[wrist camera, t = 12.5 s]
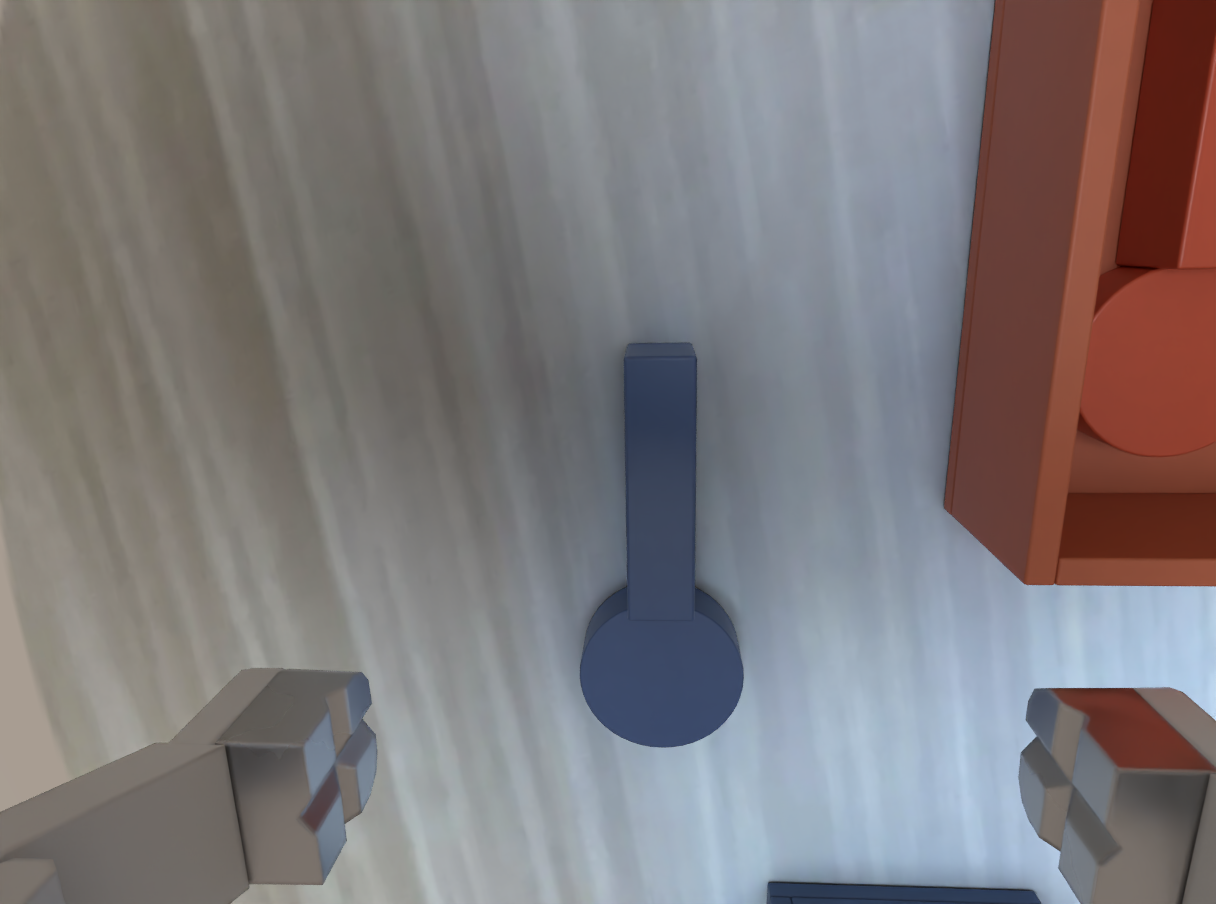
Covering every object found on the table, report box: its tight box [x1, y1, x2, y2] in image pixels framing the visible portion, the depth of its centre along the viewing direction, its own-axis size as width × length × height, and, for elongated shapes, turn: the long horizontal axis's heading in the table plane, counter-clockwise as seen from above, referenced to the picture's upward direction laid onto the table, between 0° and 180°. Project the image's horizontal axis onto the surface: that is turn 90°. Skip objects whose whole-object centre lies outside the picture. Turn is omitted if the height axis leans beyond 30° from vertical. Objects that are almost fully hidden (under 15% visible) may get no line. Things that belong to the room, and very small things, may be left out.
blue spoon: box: [580, 343, 744, 747], centre depth 19 cm, size 10×4×2 cm, turn 1°
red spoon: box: [1077, 0, 1216, 457], centre depth 16 cm, size 10×4×2 cm, turn 2°
